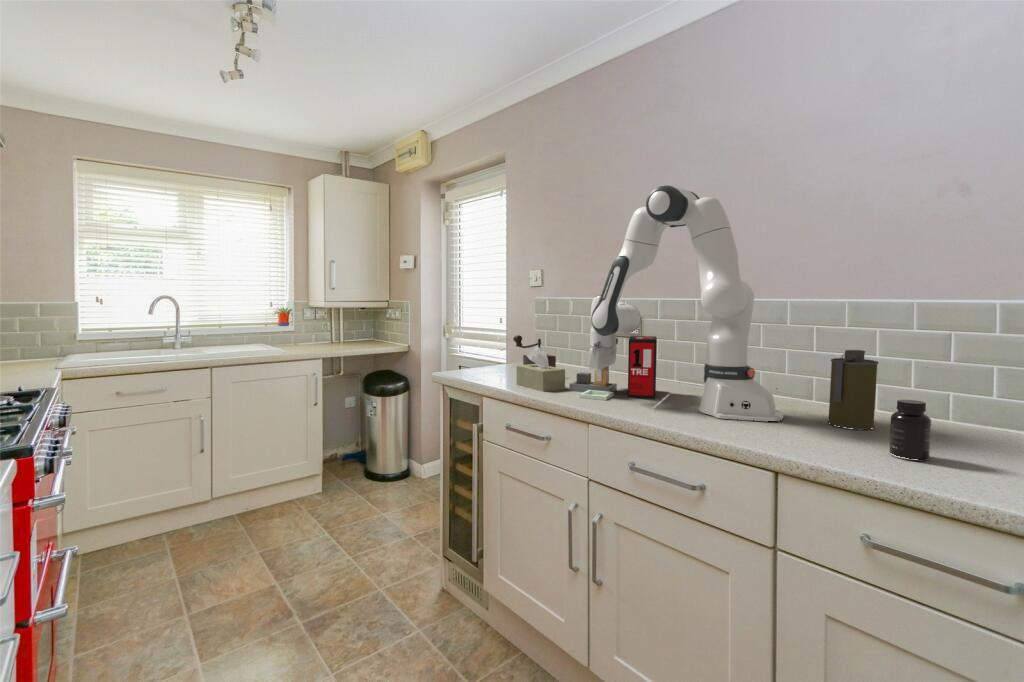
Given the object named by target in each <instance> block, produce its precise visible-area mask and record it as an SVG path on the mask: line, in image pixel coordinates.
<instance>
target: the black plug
mask: <svg viewBox="0 0 1024 682" xmlns="http://www.w3.org/2000/svg"><path fill="white" fill-rule="evenodd" d="M576 381H577V384H584V385H590V384H591V382H592V373H591V372H582V371H581V372H577V373H576Z"/></svg>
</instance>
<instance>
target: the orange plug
mask: <svg viewBox="0 0 1024 682" xmlns="http://www.w3.org/2000/svg"><path fill="white" fill-rule="evenodd" d="M602 376H603V380H602V381H597V376H596V372H595V371H594V382H595V385H596V386H609V383H610V368H609V369H602Z"/></svg>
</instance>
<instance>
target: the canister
mask: <svg viewBox="0 0 1024 682" xmlns="http://www.w3.org/2000/svg"><path fill="white" fill-rule="evenodd" d="M865 353H866V350H861V349H845V350H844V353H843V354H842V356H841V357H837V358H835V357H834V358H831V359H830V361H831V368H830V369H831V370H830V385H829V388H830V389H829V401H828V402H829V403H828V404H829V406H828V420H827V424H828V423H830V424H832V425H836V426H840V427H846V428H853V429H871V428H874V427H875V413H876V412H875V409H876V393H877V392H876V391H877V377H878V365H879V363H880V362H879V361H877V360H874V359H865ZM830 424H829V425H830ZM832 425H831V426H832ZM875 428H876V427H875ZM875 428H874V429H875Z"/></svg>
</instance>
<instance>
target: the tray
mask: <svg viewBox="0 0 1024 682" xmlns="http://www.w3.org/2000/svg"><path fill="white" fill-rule="evenodd" d="M614 396H615V392H607V391H596V390H587V391H585V392H581V393H579V399H586V400H598V401H607V400H609V399H611V398H614Z"/></svg>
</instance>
